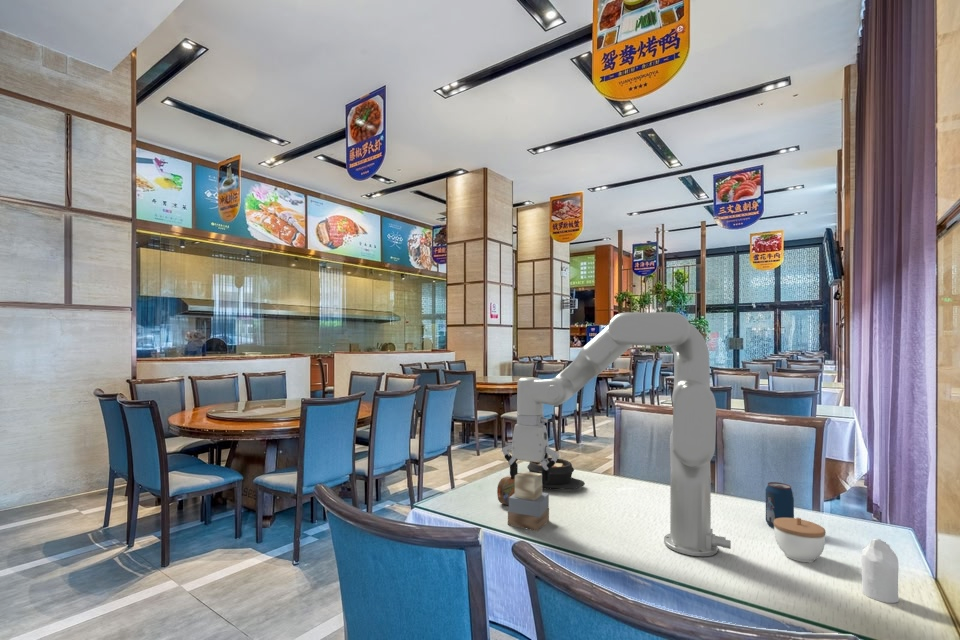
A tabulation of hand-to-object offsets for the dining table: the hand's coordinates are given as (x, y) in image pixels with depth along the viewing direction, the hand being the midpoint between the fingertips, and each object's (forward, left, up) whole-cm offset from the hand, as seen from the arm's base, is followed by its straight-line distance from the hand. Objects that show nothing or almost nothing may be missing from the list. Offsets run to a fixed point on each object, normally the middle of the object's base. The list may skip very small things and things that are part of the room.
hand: (529, 480), depth 138 cm
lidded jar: (-66, -15, -12) cm, 69 cm away
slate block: (0, 0, -8) cm, 8 cm away
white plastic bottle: (-79, -1, -12) cm, 80 cm away
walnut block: (0, 0, -12) cm, 12 cm away
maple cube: (0, 0, -4) cm, 4 cm away
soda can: (-63, -36, -12) cm, 73 cm away
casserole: (+8, -39, -12) cm, 42 cm away
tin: (+12, -15, -12) cm, 23 cm away
